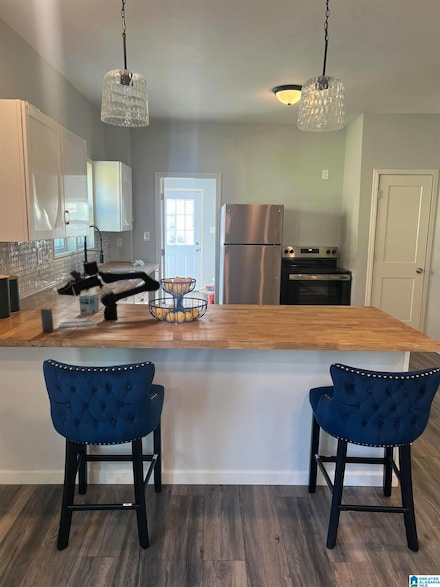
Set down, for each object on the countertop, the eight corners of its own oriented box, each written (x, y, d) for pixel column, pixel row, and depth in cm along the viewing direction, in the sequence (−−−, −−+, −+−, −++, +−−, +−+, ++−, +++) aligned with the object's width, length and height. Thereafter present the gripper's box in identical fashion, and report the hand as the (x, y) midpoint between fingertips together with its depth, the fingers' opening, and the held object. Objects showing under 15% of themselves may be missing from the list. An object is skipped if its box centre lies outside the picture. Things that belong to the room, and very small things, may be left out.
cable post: (54, 330, 200) (52, 307, 198) (52, 332, 195) (50, 309, 193) (43, 330, 198) (41, 308, 197) (41, 333, 194) (39, 310, 192)
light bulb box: (90, 314, 233) (89, 295, 232) (79, 314, 235) (78, 295, 233) (99, 310, 244) (98, 292, 242) (89, 310, 245) (88, 292, 243)
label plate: (93, 321, 217) (93, 319, 217) (92, 325, 207) (92, 324, 207) (61, 323, 213) (61, 322, 213) (58, 328, 203) (58, 326, 203)
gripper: (82, 266, 220) (51, 275, 215) (85, 269, 203) (53, 279, 198) (88, 286, 223) (58, 295, 217) (92, 291, 206) (60, 301, 201)
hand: (57, 292), depth 208 cm, fingers open, 9 cm apart
